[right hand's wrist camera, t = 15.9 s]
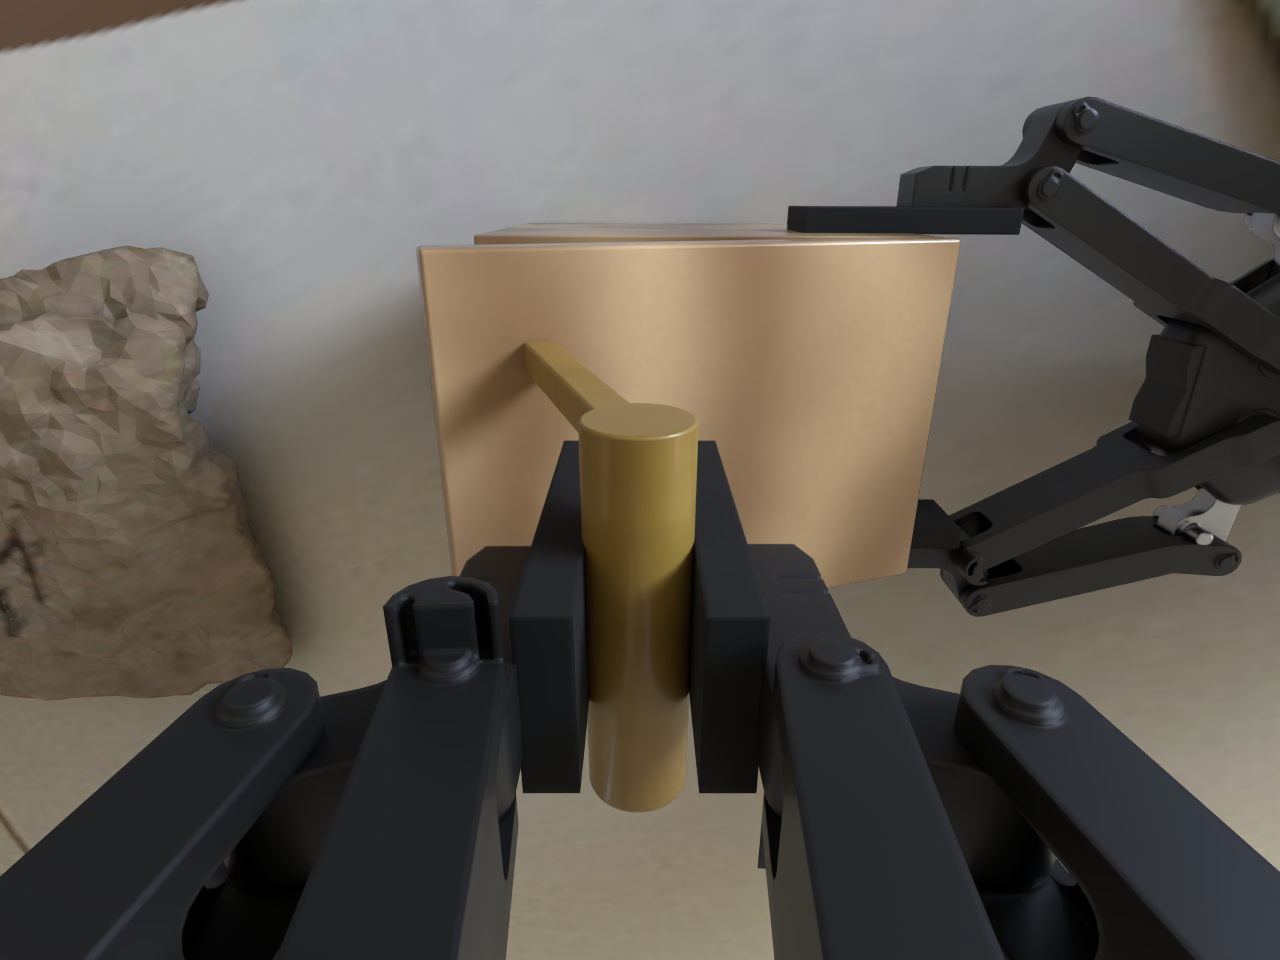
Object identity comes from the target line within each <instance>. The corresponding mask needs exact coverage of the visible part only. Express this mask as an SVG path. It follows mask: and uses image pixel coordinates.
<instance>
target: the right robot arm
mask: <svg viewBox="0 0 1280 960" xmlns="http://www.w3.org/2000/svg"><path fill="white" fill-rule="evenodd" d="M383 610H384V616H385V623H386V629H387V635H388V642H389V648H390V654H391V661H392V669H391V671H390V674H389V676H388V679H387V680H385V681H383V682H380V683H378V684H375V685H371V686H368V687H364V688H361V689H356V690H351V691H347V692H342V693H337V694H332V695H327V696H323V697H320V695H319V691H318V686H317V682H316V681H315V680H314V679H313V678H312V677H311V676H310V675H309V674H308V673H305V672H302V671H298V670H294V669H291V668H282V669H265V670H259V671H257V672H251V673H247V674H244V675H241V676H239V677H237V678H235V679H232V680H230V681H228V682H225V683H223V684H221V685H219V686H218V687H216V688H215V689H213V690H212V691H210V692H209V693H207V694H206V695H205V696H203V697H202V698H200V699H199V700H198V701H197V702H196V703H195V704H193V705H192V706H191V707H190V708H189V709H188V710H187V711H186V712H184V713H183V714H182V715H181V716H180V717H179V718H178V719H177V720H175V721H174V722H173V723H172V724H171V725H170V726H169V727H168V728H167V729H165V730H164V731H163V732H162V733H161V734H160V735H159V736H158V737H156V738H155V739H154V740H153V741H152V742H151V743H150V744H149V745H147V746H146V747H145V748H144V749H143V750H142V751H141V752H140V753H138V754H137V755H136V756H135V757H134V758H133V759H132V760H131V761H129V762H128V763H127V764H126V765H125V766H124V767H123V768H122V769H120V770H119V771H118V772H117V773H116V774H115V775H114V776H113V777H111V778H110V779H109V780H108V781H107V782H106V783H105V784H104V785H103V786H101V787H100V788H99V789H98V790H97V791H96V792H95V793H94V794H92V795H91V796H90V797H89V798H88V799H87V800H86V801H85V802H83V803H82V804H81V805H80V806H79V807H78V808H77V809H76V810H74V811H73V812H72V813H71V814H70V815H69V816H68V817H67V818H65V819H64V820H63V821H62V822H61V823H60V824H59V825H58V826H56V827H55V828H54V829H53V830H52V831H51V832H50V833H49V834H47V835H46V836H45V837H44V838H43V839H42V840H41V841H40V842H39V843H37V844H36V845H35V846H34V847H33V848H32V849H31V850H30V851H28V852H27V853H26V854H25V855H24V856H23V857H22V858H21V859H19V860H18V861H17V862H16V863H15V864H14V865H13V866H12V867H10V868H9V869H8V870H7V871H6V872H5V873H4V874H3V875H1V876H0V960H506V949H507V939H508V929H509V918H510V908H511V897H512V887H513V876H514V866H515V855H516V845H517V835H518V813H517V801H516V788H517V783H518V779H519V774H520V769H521V775H522V787H523V793H580V788H581V778H582V768H583V758H584V748H585V738H586V728H587V718H588V708H589V674H588V644H587V613H586V583H585V552H584V544H583V541H582V529H581V498H580V467H579V441H564V442H563V445H562V449H561V452H560V455H559V458H558V461H557V465H556V468H555V471H554V474H553V477H552V480H551V484H550V487H549V490H548V493H547V496H546V500H545V503H544V506H543V509H542V512H541V516H540V519H539V522H538V525H537V528H536V532H535V535H534V538H533V541H532V544H531V546H485V547H484V548H483V549H481V550H480V551H479V552H477V553H476V554H475V555H474V556H472V557H471V558H470V559H468V560H467V561H466V563H465V565H464V567H463V569H462V571H461V573H460V576H459V577H458V576H448V577H440V578H433V579H428V580H425V581H422V582H419V583H416V584H413V585H409V586H408V587H406V588H404V589H403V590H401V591H399V592H398V593H396V594H394V595H393V596H392V597H391V598H390V599H389V600H388V602H387V603H386V604H385V605H384V606H383ZM689 695H690V705H691V715H692V725H693V735H694V745H695V755H696V765H697V775H698V786H699V793H756V791H757V778H758V766H759V769H760V774H761V779H762V783H763V788H764V801H763V813H762V824H761V836H760V848H759V859H758V868H765V869H766V875H767V886H768V896H769V906H770V917H771V927H772V938H773V948H774V958H775V960H1280V872H1279V871H1278V870H1277V869H1276V868H1275V867H1274V866H1273V865H1271V864H1270V863H1269V862H1268V861H1267V860H1266V859H1265V858H1263V857H1262V856H1261V855H1260V854H1259V853H1258V852H1257V851H1256V850H1254V849H1253V848H1252V847H1251V846H1250V845H1249V844H1248V843H1246V842H1245V841H1244V840H1243V839H1242V838H1241V837H1240V836H1239V835H1237V834H1236V833H1235V832H1234V831H1233V830H1232V829H1231V828H1230V827H1228V826H1227V825H1226V824H1225V823H1224V822H1223V821H1222V820H1220V819H1219V818H1218V817H1217V816H1216V815H1215V814H1214V813H1213V812H1211V811H1210V810H1209V809H1208V808H1207V807H1206V806H1205V805H1203V804H1202V803H1201V802H1200V801H1199V800H1198V799H1197V798H1196V797H1194V796H1193V795H1192V794H1191V793H1190V792H1189V791H1188V790H1187V789H1185V788H1184V787H1183V786H1182V785H1181V784H1180V783H1179V782H1177V781H1176V780H1175V779H1174V778H1173V777H1172V776H1171V775H1170V774H1168V773H1167V772H1166V771H1165V770H1164V769H1163V768H1162V767H1160V766H1159V765H1158V764H1157V763H1156V762H1155V761H1154V760H1153V759H1151V758H1150V757H1149V756H1148V755H1147V754H1146V753H1145V752H1144V751H1142V750H1141V749H1140V748H1139V747H1138V746H1137V745H1136V744H1134V743H1133V742H1132V741H1131V740H1130V739H1129V738H1128V737H1127V736H1125V735H1124V734H1123V733H1122V732H1121V731H1120V730H1119V729H1117V728H1116V727H1115V726H1114V725H1113V724H1112V723H1111V722H1110V721H1108V720H1107V719H1106V718H1105V717H1104V716H1103V715H1102V714H1101V713H1099V712H1098V711H1097V710H1096V709H1095V708H1094V707H1093V706H1091V705H1090V704H1089V703H1088V702H1087V701H1086V700H1085V699H1084V698H1082V697H1081V696H1080V695H1079V694H1077V693H1076V692H1074V691H1073V690H1071V689H1070V688H1069V687H1067V686H1066V685H1064V684H1063V683H1061V682H1060V681H1057V680H1055V679H1053V678H1050V677H1048V676H1046V675H1043V674H1041V673H1039V672H1037V671H1033V670H1030V669H1026V668H1025V669H1024V668H1022V667H1015V666H1002V665H989V666H985V667H981V668H978V669H974V670H972V671H971V672H970V673H969V674H968V675H967V676H966V677H965V678H964V679H963V682H962V687H961V691H960V694H957V693H952V692H947V691H942V690H937V689H933V688H928V687H923V686H919V685H915V684H911V683H908V682H904V681H901V680H899V679H897V678H894V677H892V675H891V673H890V670H889V668H888V666H887V664H886V663H885V661H884V660H883V659H882V657H881V656H880V654H879V653H878V652H876V651H875V650H873V649H872V648H871V647H869V646H868V645H866V644H865V643H863V642H861V641H858V640H856V639H853V638H851V636H850V634H849V632H848V630H847V628H846V626H845V624H844V622H843V620H842V618H841V616H840V614H839V612H838V609H837V607H836V605H835V603H834V601H833V599H832V597H831V595H830V593H828V589H827V587H826V585H825V582H824V580H823V579H821V574H820V572H819V570H818V568H817V566H816V564H815V562H814V560H813V558H812V557H810V556H809V555H808V554H806V553H805V552H804V551H802V550H801V549H800V548H798V547H797V546H796V545H794V544H747V540H746V537H745V534H744V531H743V528H742V524H741V521H740V518H739V515H738V512H737V508H736V505H735V502H734V499H733V496H732V492H731V489H730V486H729V483H728V480H727V476H726V473H725V470H724V467H723V464H722V460H721V457H720V454H719V451H718V448H717V444H716V441H698V455H697V483H696V512H695V538H694V562H693V592H692V621H691V650H690V680H689ZM1056 857H1057V858H1056ZM1057 859H1058V860H1059V861H1060V862H1061V863H1062V864H1061V863H1060V862H1059V861H1058V860H1057ZM1062 865H1063V866H1064V867H1065V868H1066V869H1065V868H1064V867H1063V866H1062ZM217 868H218V869H217ZM1066 870H1067V871H1068V872H1069V873H1070V874H1069V873H1068V872H1067V871H1066Z"/></svg>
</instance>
